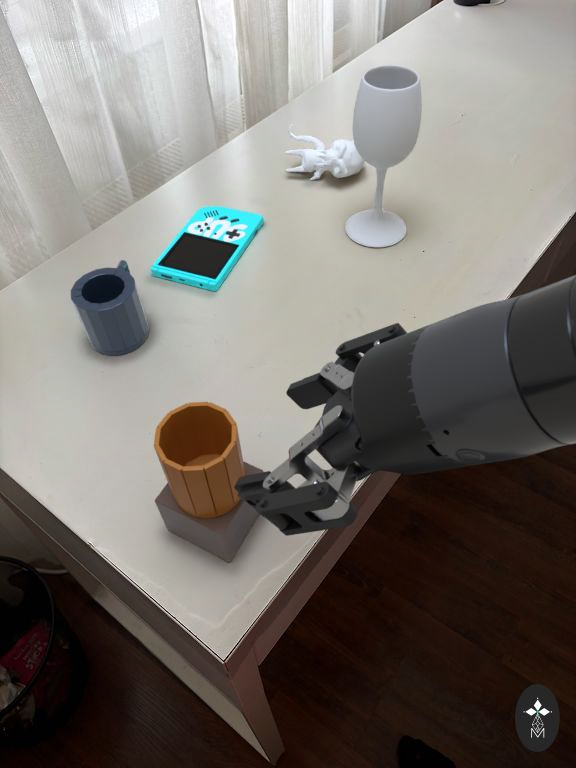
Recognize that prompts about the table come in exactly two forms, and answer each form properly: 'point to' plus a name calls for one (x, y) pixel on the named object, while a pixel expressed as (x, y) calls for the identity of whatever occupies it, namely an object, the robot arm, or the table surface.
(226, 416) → the orange hollow slatted cylinder
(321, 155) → the figurine
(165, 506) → the block
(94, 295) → the mug
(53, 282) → the table surface
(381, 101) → the wineglass
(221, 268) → the handheld game console
